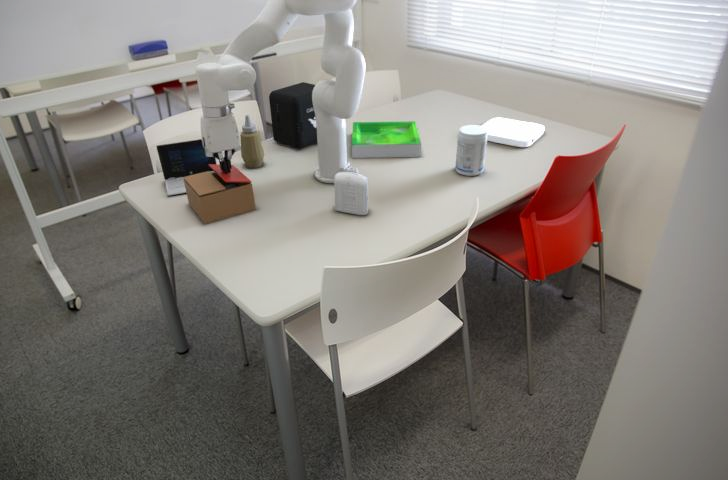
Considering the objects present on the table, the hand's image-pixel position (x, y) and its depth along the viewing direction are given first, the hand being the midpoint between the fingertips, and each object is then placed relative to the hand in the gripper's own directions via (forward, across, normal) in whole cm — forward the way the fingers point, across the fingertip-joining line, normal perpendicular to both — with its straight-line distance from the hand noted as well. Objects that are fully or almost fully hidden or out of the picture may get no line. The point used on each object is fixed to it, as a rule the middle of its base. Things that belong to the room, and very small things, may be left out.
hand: (226, 171), depth 152 cm
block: (+10, 0, 0) cm, 10 cm away
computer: (+10, -114, +6) cm, 115 cm away
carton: (+11, +3, 0) cm, 11 cm away
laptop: (+11, +5, -21) cm, 24 cm away
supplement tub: (+10, -77, +23) cm, 81 cm away
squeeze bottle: (+11, -18, -25) cm, 33 cm away
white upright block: (+11, -28, +25) cm, 39 cm away
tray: (+10, -68, -14) cm, 70 cm away
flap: (+1, -1, 0) cm, 1 cm away
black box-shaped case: (+11, -45, -36) cm, 58 cm away
